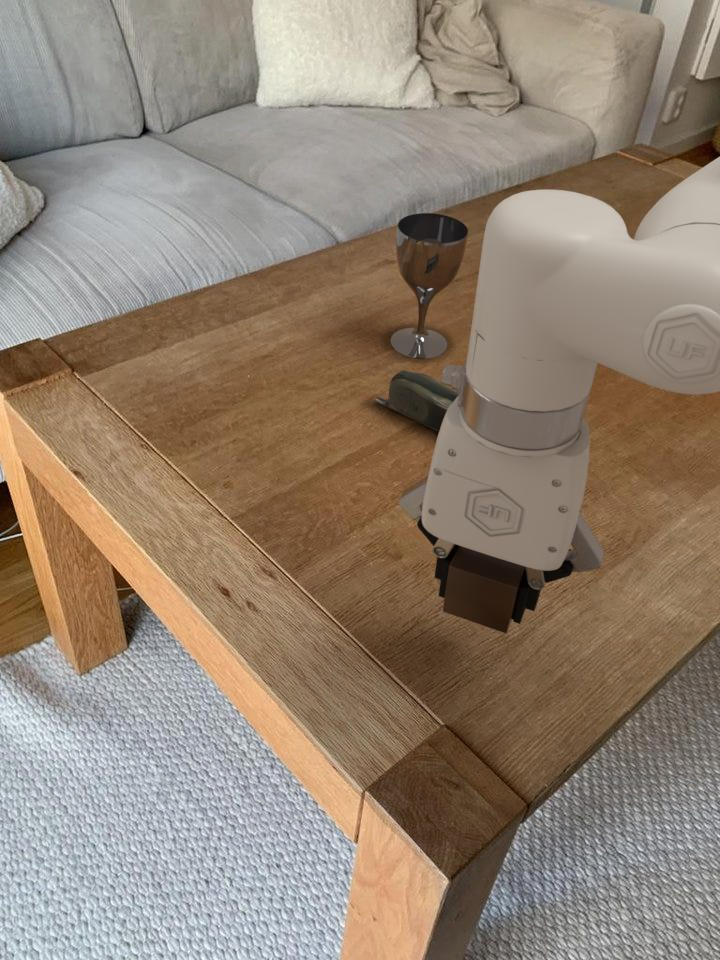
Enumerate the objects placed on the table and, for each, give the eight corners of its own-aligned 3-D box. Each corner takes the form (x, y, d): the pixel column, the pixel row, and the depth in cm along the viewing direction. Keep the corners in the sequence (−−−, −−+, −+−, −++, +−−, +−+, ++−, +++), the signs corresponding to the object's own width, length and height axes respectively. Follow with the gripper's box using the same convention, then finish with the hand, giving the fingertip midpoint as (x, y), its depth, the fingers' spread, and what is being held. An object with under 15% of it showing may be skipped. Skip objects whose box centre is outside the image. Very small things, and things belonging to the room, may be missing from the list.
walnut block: (524, 587, 63) (535, 542, 60) (506, 634, 60) (517, 588, 57) (462, 567, 65) (470, 521, 62) (442, 611, 61) (449, 565, 58)
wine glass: (448, 364, 98) (466, 247, 88) (382, 355, 99) (393, 238, 89) (453, 330, 104) (470, 217, 94) (391, 322, 105) (401, 209, 95)
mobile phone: (513, 409, 84) (389, 356, 89) (500, 424, 82) (375, 368, 87) (503, 447, 87) (385, 393, 93) (491, 461, 85) (370, 406, 91)
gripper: (371, 397, 50) (362, 595, 62) (654, 476, 45) (585, 673, 57) (415, 340, 55) (398, 532, 67) (672, 405, 51) (605, 599, 62)
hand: (484, 595), depth 62 cm, fingers closed on walnut block, 5 cm apart
